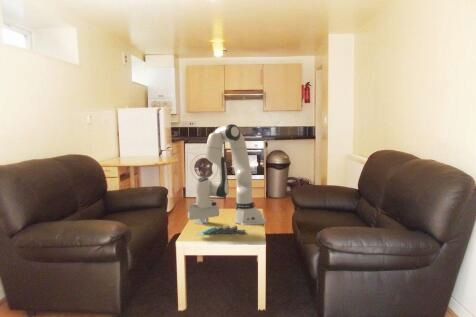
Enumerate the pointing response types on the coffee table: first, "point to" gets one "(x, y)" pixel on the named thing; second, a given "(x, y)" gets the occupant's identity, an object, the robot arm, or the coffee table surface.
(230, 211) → the coffee table surface
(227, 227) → the domino
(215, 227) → the domino
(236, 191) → the robot arm
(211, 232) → the domino
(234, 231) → the domino
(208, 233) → the runner mat
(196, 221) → the milk carton
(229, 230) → the domino
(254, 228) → the coffee table surface
